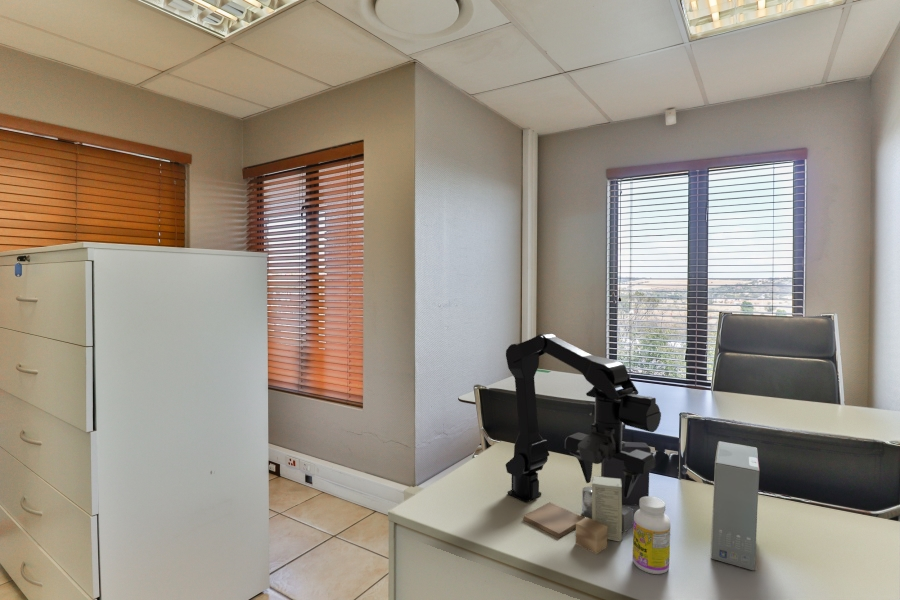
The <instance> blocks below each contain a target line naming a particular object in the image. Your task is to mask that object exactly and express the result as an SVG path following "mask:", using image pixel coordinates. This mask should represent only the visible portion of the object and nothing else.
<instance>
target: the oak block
mask: <svg viewBox="0 0 900 600" xmlns="http://www.w3.org/2000/svg"><path fill="white" fill-rule="evenodd" d="M575 545H578V546H580V547H581V548H583V549H586V550H588V551H589V552H592V553H594V554H595V555H597V554H599V553H601V552H602V551H604V549H606V548H607V547H608V539H607V526H606V525H603V524H601V523H599V522H597V521H594V520H592V519H590V518H588V517H586V518H585V517H584V519H582V520H581V521H579V522H577V523H576V528H575Z"/></svg>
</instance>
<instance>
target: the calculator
mask: <svg viewBox="0 0 900 600" xmlns="http://www.w3.org/2000/svg"><path fill="white" fill-rule="evenodd" d="M623 442H624V443H625V447H624V448H622V451H625V452H628V453H630V452H632V451H634V450H636V449H637V450H641V451H644V452H647V453H651V454H652V452H651V447H650V446H649V445H648V444H647V443H646V442H635V441H623ZM600 464H601V466H600V470H601V471H600V476H601V477H609V478H618V479H621V482H622V505H624V506H639V500H640V498H642V497H645V496H649V495H650V492H649V491H650V470H649V471H648V472H646V473H644V474H640V476H639V477H638V479H637V481H636V483H635V485H634V487H633V489H632V491H631V493H630V495H629V497H628V498H625V497H624V485H625V474H624V472H623V470H624V469H625V468H626V467H625V466H624V461H622V460H619V459H616V458H613V457H612V458H611V459H610V460H607V459H603V461H602V462H601V463H600Z"/></svg>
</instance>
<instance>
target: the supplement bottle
mask: <svg viewBox="0 0 900 600" xmlns="http://www.w3.org/2000/svg"><path fill="white" fill-rule="evenodd" d="M638 507H639V509H637V510H636V511H635V512H634V513H633V527H632V528H633V530H632V532H633V534H632V561H633V564H634V565H635V566H636V567H637V568H638V569H640V570H641V571H643V572H645V573H647V574H652V575H661V574H662V575H663V574H665V573H667V572H668V571H669V568H670V555H671V554H670V553H671V552H670V550H671V549H670V548H671V519H670V517H669V516H668V515H667V514H665V512H666V510H667V509H666V503H665V502H664V500H662V499H661V498H659V497H654V496H651V495H650V496H645V497H642V498H640V500H639V505H638Z"/></svg>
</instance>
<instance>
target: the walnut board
mask: <svg viewBox="0 0 900 600" xmlns="http://www.w3.org/2000/svg"><path fill="white" fill-rule="evenodd" d="M522 518H523V521H525V522H527V523H529V524H531V525H532V526H534V527H537V528H538V529H540V530H543V532H546V533H548V534H550V535H552V536H554V537H556V538H558V539H559V538H562V537H563V536H565V535H567V534H568V533H570V532H571V531H573V530H576V523H577V522H579V521H581V520H582V519H584V518H585V517H584V516H583V515H579V514H577V513H575V512H572V511H570V510H568V509H566V508H564V507H562V506H559V505H557V504H554V503H552V502H551V501H549V502H547V503H545V504H543V505H541V506H540V507H537V508H535V509H533V510H531V511H530V512H528V513H526V514H524V515H523V517H522Z"/></svg>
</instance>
